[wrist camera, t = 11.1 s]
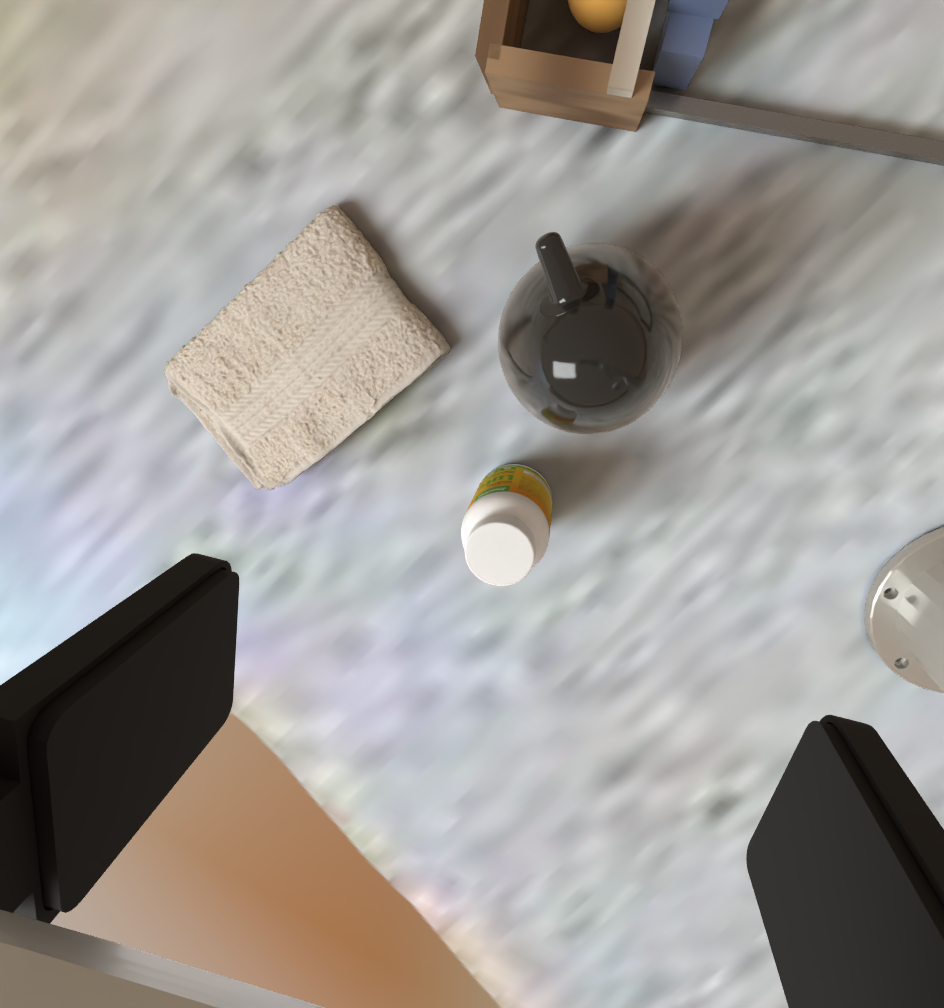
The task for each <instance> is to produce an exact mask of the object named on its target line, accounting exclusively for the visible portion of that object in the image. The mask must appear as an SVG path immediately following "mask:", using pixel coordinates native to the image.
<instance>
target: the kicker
mask: <svg viewBox="0 0 944 1008" xmlns="http://www.w3.org/2000/svg"><path fill="white" fill-rule="evenodd" d="M728 1H729V0H669V3H668V7H667V13H666V17H665V21H664V25H663V29H662V33H661V37H660V41H659V45H658V49H657V53H656V57H655V61H654V65H653V69H652V71H655V75H654V79H653V83H652V85H657V86H662V87H668V88H674V89H680V90H686V88H687V86H688V84H689V83H690V81H691V79H692V77H693V76H694V74H695V72H696V70H697V68H698V67H699V65H700V63H701V61H702V59H703V58H704V54H705V50H706V47H707V43H708V40H709V36H710V32H711V29H712V25H713V21H714V19H718V20H719V18H720V16H721V14H722V12H723V10H724V9H725V7H726V5H727V3H728Z"/></svg>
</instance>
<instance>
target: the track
mask: <svg viewBox="0 0 944 1008" xmlns="http://www.w3.org/2000/svg"><path fill="white" fill-rule="evenodd" d="M644 112H646V113H651V114H657V115H663V116H668V117H674V118H679V119H685V120H691V121H696V122H702V123H708V124H713V125H719V126H725V127H730V128H736V129H741V130H747V131H753V132H758V133H764V134H770V135H775V136H781V137H787V138H792V139H798V140H803V141H809V142H815V143H820V144H826V145H832V146H837V147H843V148H849V149H854V150H860V151H865V152H871V153H877V154H882V155H888V156H894V157H899V158H905V159H911V160H916V161H922V162H927V163H933V164H939V165H944V141H939V140H933V139H927V138H922V137H916V136H910V135H904V134H899V133H893V132H887V131H881V130H876V129H870V128H864V127H858V126H853V125H847V124H841V123H836V122H830V121H824V120H818V119H813V118H807V117H801V116H795V115H790V114H784V113H778V112H772V111H767V110H761V109H755V108H749V107H744V106H738V105H732V104H726V103H721V102H715V101H709V100H703V99H698V98H692V97H686V96H681V95H675V94H669V93H663V92H658V91H652V90H651V91H650V95H649V99H648V102H647V105H646V107H645V110H644Z"/></svg>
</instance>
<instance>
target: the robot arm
mask: <svg viewBox="0 0 944 1008" xmlns="http://www.w3.org/2000/svg"><path fill="white" fill-rule="evenodd" d="M238 596H239V576H238V574H237V573H236V572H232V570H231V566H230V563H228V562H227V561H224V560H220V559H216V558H212V557H209V556H205V555H201V554H195V553H193V554H191V555H189V556H187V557H186V558H184V559H183V560H181V561H180V562H178V563H177V564H175V565H174V566H173V567H171V568H170V569H168V570H167V571H165V572H164V573H162V574H161V575H160V576H158V577H157V578H155V579H154V580H152V581H151V582H149V583H148V584H147V585H145V586H144V587H142V588H141V589H139V590H138V591H136V592H135V593H133V594H132V595H131V596H129V597H128V598H126V599H125V600H123V601H122V602H120V603H119V604H118V605H116V606H115V607H113V608H112V609H110V610H109V611H107V612H106V613H105V614H103V615H102V616H100V617H99V618H97V619H96V620H94V621H93V622H92V623H90V624H89V625H87V626H86V627H84V628H83V629H81V630H80V631H78V632H77V633H76V634H74V635H73V636H71V637H70V638H68V639H67V640H65V641H64V642H63V643H61V644H60V645H58V646H57V647H55V648H54V649H52V650H51V651H50V652H48V653H47V654H45V655H44V656H42V657H41V658H39V659H38V660H36V661H35V662H34V663H32V664H31V665H29V666H28V667H26V668H25V669H23V670H22V671H21V672H19V673H18V674H16V675H15V676H13V677H12V678H10V679H9V680H8V681H6V682H5V683H3V684H2V685H0V1008H325V1007H322V1006H319V1005H315V1004H312V1003H309V1002H306V1001H303V1000H299V999H296V998H293V997H289V996H286V995H283V994H280V993H276V992H273V991H270V990H267V989H264V988H260V987H257V986H254V985H250V984H247V983H244V982H241V981H238V980H235V979H231V978H228V977H225V976H221V975H218V974H215V973H212V972H209V971H205V970H202V969H199V968H196V967H192V966H189V965H186V964H183V963H180V962H176V961H173V960H170V959H167V958H163V957H160V956H157V955H154V954H150V953H147V952H144V951H141V950H137V949H134V948H131V947H127V946H124V945H121V944H118V943H115V942H111V941H108V940H104V939H101V938H97V937H94V936H91V935H87V934H83V933H80V932H77V931H73V930H69V929H66V928H62V927H59V926H55V925H52V924H50V923H51V922H52V920H53V919H54V918H55V917H56V916H57V914H58V913H59V912H60V911H62V912H65V913H66V912H69V911H71V910H72V909H73V908H75V907H76V906H77V905H78V903H80V902H81V900H82V899H83V898H84V897H85V896H86V894H87V893H88V892H89V891H90V889H91V888H92V887H93V886H94V884H95V883H96V882H97V881H98V879H99V878H100V877H101V876H102V874H103V873H104V872H105V871H106V869H107V868H108V867H109V866H110V864H111V863H112V862H113V861H114V859H115V858H116V857H117V856H118V854H119V853H120V852H121V851H122V849H123V848H124V847H125V846H126V845H127V843H128V842H129V841H130V840H131V839H132V837H133V836H134V835H135V833H136V832H137V831H138V830H139V828H140V827H141V826H142V825H143V824H144V822H145V821H146V820H147V819H148V817H149V816H150V815H151V814H152V812H153V811H154V810H155V809H156V807H157V806H158V805H159V804H160V802H161V801H162V800H163V799H164V798H165V796H166V795H167V794H168V793H169V791H170V790H171V789H172V788H173V786H174V785H175V784H176V783H177V781H178V780H179V779H180V778H181V776H182V775H183V774H184V773H185V771H186V770H187V769H188V768H189V766H190V765H191V764H192V763H193V762H194V760H195V759H196V758H197V757H198V755H199V754H200V753H201V752H202V750H203V749H204V748H205V747H206V745H207V744H208V743H209V742H210V740H211V739H212V738H213V737H214V735H215V734H216V733H217V732H218V731H219V729H220V728H221V727H222V726H223V724H224V723H225V721H226V720H227V718H228V716H229V713H230V711H231V707H232V703H233V689H234V670H235V652H236V633H237V615H238ZM864 620H865V626H866V632H867V636H868V638H869V640H870V642H871V645H872V647H873V649H874V650H875V651H876V653H877V654H878V655H879V656H880V658H881V659H882V660H883V662H884V663H885V664H886V665H887V666H888V667H889V668H890V669H891V670H892V671H893V672H894V673H896V674H897V675H899V676H900V677H902V678H903V679H905V680H906V681H908V682H910V683H912V684H915V685H917V686H919V687H921V688H924V689H928V690H932V691H936V692H940V693H944V527H941V528H939V529H937V530H934V531H932V532H930V533H927V534H925V535H923V536H921V537H920V538H918V539H916V540H915V541H913V542H911V543H910V544H908V545H906V546H905V547H904V548H903V549H902V550H900V551H899V552H898V553H897V554H896V555H895V556H893V557H892V558H891V559H890V560H889V561H888V563H887V564H886V565H885V566H884V567H883V569H882V570H881V571H880V572H879V574H878V575H877V577H876V579H875V581H874V583H873V584H872V586H871V588H870V591H869V594H868V597H867V601H866V604H865V618H864ZM747 868H748V873H749V876H750V879H751V883H752V886H753V889H754V893H755V896H756V899H757V903H758V906H759V909H760V913H761V916H762V919H763V923H764V926H765V929H766V933H767V936H768V939H769V943H770V946H771V949H772V953H773V956H774V959H775V963H776V966H777V970H778V973H779V976H780V980H781V983H782V986H783V990H784V993H785V996H786V1000H787V1003H788V1006H789V1008H944V829H943V828H942V826H941V825H940V824H939V822H938V821H937V819H936V818H935V816H934V815H933V813H932V812H931V810H930V809H929V807H928V806H927V805H926V803H925V802H924V800H923V799H922V797H921V796H920V794H919V793H918V791H917V790H916V788H915V787H914V786H913V784H912V783H911V781H910V780H909V778H908V777H907V775H906V774H905V772H904V771H903V769H902V768H901V767H900V765H899V764H898V762H897V761H896V759H895V758H894V756H893V755H892V753H891V752H890V750H889V749H888V748H887V746H886V745H885V743H884V742H883V740H882V739H881V737H880V736H879V734H878V733H877V731H876V730H875V729H874V728H873V727H872V726H870V725H868V724H865V723H861V722H857V721H853V720H849V719H845V718H841V717H837V716H833V715H826V716H825V717H823V718H822V719H821V720H820V722H818V721H812V722H811V723H810V724H809V725H808V726H807V728H806V730H805V732H804V734H803V736H802V738H801V740H800V742H799V744H798V746H797V748H796V750H795V752H794V754H793V756H792V758H791V760H790V762H789V764H788V766H787V768H786V770H785V772H784V774H783V776H782V778H781V780H780V782H779V784H778V786H777V788H776V790H775V792H774V794H773V796H772V798H771V800H770V802H769V804H768V806H767V808H766V810H765V812H764V814H763V816H762V818H761V820H760V822H759V824H758V826H757V828H756V830H755V832H754V834H753V836H752V838H751V840H750V843H749V845H748V849H747Z"/></svg>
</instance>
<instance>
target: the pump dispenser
mask: <svg viewBox="0 0 944 1008" xmlns="http://www.w3.org/2000/svg"><path fill="white" fill-rule="evenodd" d="M535 247H536V251H537V254H538V257H539V260H540V261H539V262H538V263H537V264H535V265H534V266H533V267H532V268H531V269H530V270H529V271H528V272H527V273H526V274H525V275H524V276H523V277H522V278H521V279H520V281H519V282H518V283H517V285H516V286H515V288H514V289H513V291H512V292H511V294H510V296H509V298H508V300H507V302H506V305H505V307H504V310H503V313H502V316H501V320H500V325H499V333H498V351H499V358H500V363H501V367H502V370H503V373H504V376H505V379H506V381H507V383H508V385H509V387H510V389H511V391H512V392H513V394H514V395H515V397H516V398H517V400H518V401H519V402H520V403H521V404H522V406H523V407H524V408H525V409H526V410H527V411H528V412H530V413H531V414H532V415H533V416H534V417H536V418H537V419H539V420H540V421H542V422H544V423H545V424H547V425H549V426H551V427H553V428H556V429H559V430H562V431H565V432H569V433H575V434H600V433H606V432H610V431H613V430H617V429H619V428H622V427H624V426H626V425H628V424H630V423H632V422H634V421H636V420H637V419H639V418H640V417H641V416H643V415H644V414H645V413H647V412H648V411H649V410H650V409H651V408H652V407H653V406H654V405H655V404H656V403H657V402H658V401H659V399H660V398H661V397H662V396H663V394H664V393H665V391H666V390H667V388H668V386H669V385H670V383H671V381H672V379H673V377H674V375H675V372H676V369H677V367H678V363H679V360H680V355H681V349H682V338H683V332H682V320H681V315H680V310H679V307H678V303H677V301H676V298H675V296H674V293H673V291H672V289H671V287H670V286H669V284H668V283H667V281H666V280H665V278H664V277H663V276H662V274H661V273H660V272H659V271H658V270H657V269H656V268H655V267H654V266H653V265H652V264H651V263H649V262H648V261H647V260H646V259H644V258H643V257H641V256H639V255H638V254H636V253H634V252H632V251H630V250H627V249H625V248H622V247H618V246H615V245H609V244H601V243H589V244H580V245H575V246H571V247H567V248H566V247H565V245H564V242H563V240H562V238H561V236H560V235H559V234H558V233H556V232H550V233H547V234H545V235H543V236H541V237H540V238H539V239H538V240H537V242H536V246H535Z"/></svg>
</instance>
